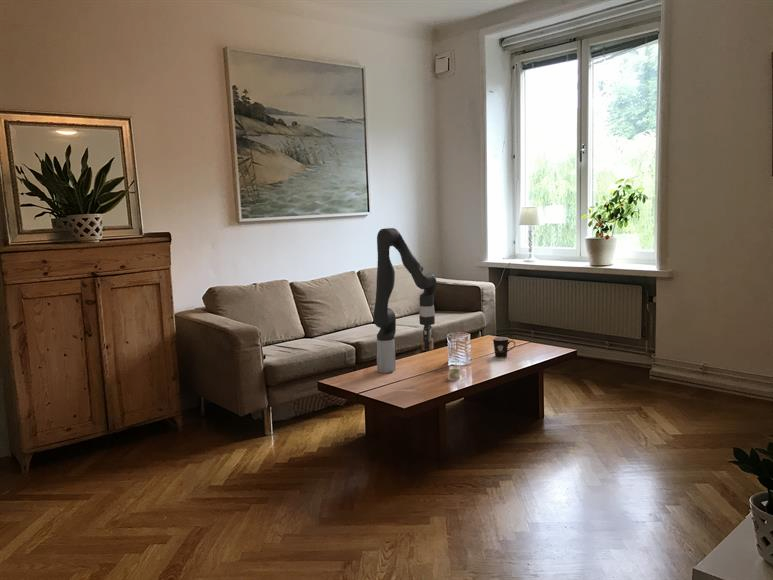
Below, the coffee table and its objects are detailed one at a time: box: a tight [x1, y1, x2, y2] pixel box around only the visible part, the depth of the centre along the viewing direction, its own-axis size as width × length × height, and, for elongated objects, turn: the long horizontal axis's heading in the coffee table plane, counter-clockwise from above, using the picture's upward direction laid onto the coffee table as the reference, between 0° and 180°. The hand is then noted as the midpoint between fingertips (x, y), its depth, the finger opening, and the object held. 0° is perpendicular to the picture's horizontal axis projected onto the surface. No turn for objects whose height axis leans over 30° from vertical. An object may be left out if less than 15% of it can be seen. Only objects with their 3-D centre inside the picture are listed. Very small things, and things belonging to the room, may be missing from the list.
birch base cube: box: [448, 365, 461, 379], centre depth 311 cm, size 5×5×5 cm
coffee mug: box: [492, 336, 516, 358], centre depth 352 cm, size 12×9×10 cm
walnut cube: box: [421, 337, 434, 351], centre depth 312 cm, size 5×5×5 cm
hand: (427, 348), depth 312 cm, fingers closed on walnut cube, 5 cm apart
